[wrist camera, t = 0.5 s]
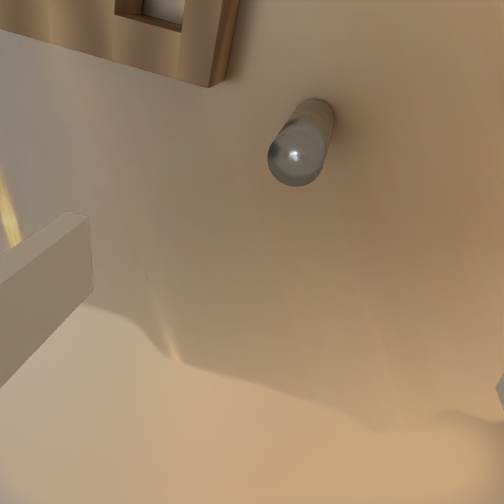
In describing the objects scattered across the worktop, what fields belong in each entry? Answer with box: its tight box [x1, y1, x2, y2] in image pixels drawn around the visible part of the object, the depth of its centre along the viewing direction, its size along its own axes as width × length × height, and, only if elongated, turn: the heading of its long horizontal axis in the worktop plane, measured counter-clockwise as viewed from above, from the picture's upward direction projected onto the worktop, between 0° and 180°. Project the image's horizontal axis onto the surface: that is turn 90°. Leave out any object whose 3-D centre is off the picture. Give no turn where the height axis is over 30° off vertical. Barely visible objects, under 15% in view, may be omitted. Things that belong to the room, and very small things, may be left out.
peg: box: [268, 99, 334, 187], centre depth 28 cm, size 3×3×10 cm
